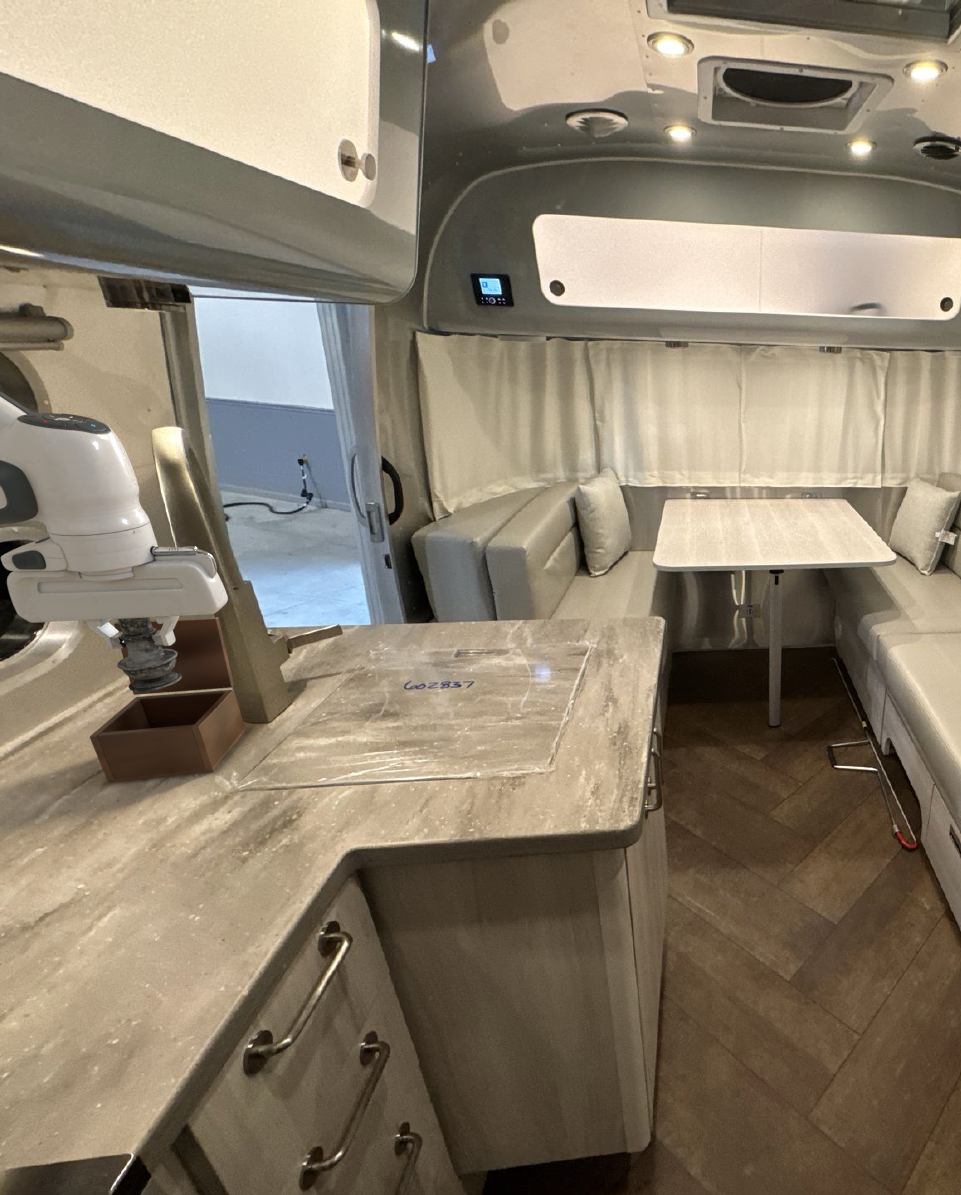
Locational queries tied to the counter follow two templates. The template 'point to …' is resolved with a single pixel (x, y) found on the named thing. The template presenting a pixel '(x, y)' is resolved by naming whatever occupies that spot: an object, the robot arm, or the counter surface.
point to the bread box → (169, 735)
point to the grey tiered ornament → (146, 657)
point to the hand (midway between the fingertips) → (142, 645)
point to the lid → (195, 656)
